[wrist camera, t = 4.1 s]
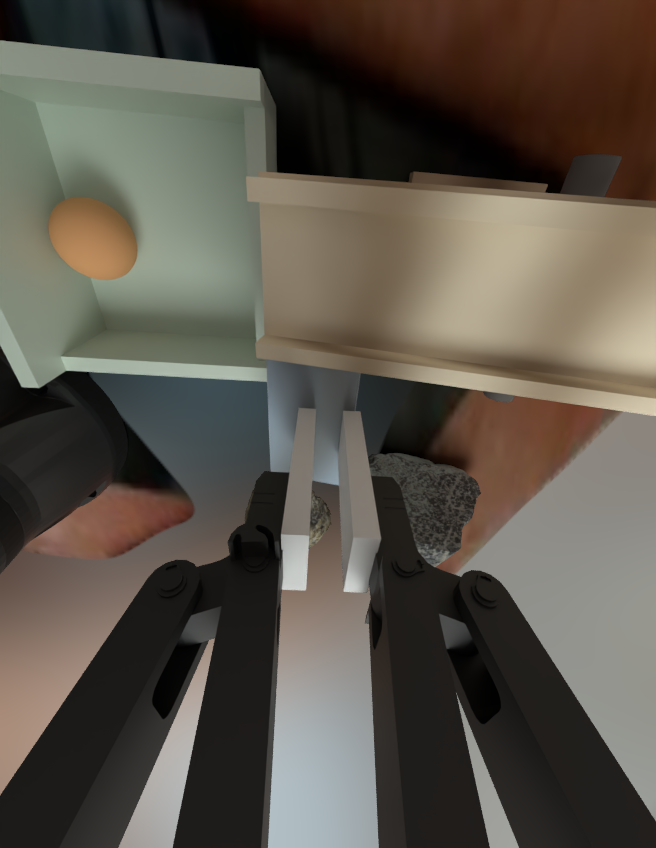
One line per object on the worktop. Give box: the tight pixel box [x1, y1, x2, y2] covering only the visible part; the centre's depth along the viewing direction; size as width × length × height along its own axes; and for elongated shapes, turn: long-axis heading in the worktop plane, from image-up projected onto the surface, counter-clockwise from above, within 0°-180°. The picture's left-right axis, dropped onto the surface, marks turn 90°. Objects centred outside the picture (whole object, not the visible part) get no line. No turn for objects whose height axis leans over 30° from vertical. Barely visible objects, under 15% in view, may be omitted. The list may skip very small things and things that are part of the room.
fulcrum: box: [409, 172, 548, 193], centre depth 16 cm, size 14×8×8 cm, turn 86°
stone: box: [368, 453, 481, 567], centre depth 26 cm, size 10×10×10 cm
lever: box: [246, 154, 656, 485], centre depth 12 cm, size 20×14×4 cm
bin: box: [0, 41, 277, 388], centre depth 15 cm, size 12×12×7 cm
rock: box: [245, 490, 331, 549], centre depth 29 cm, size 7×8×4 cm
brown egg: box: [48, 197, 138, 280], centre depth 16 cm, size 4×4×4 cm
